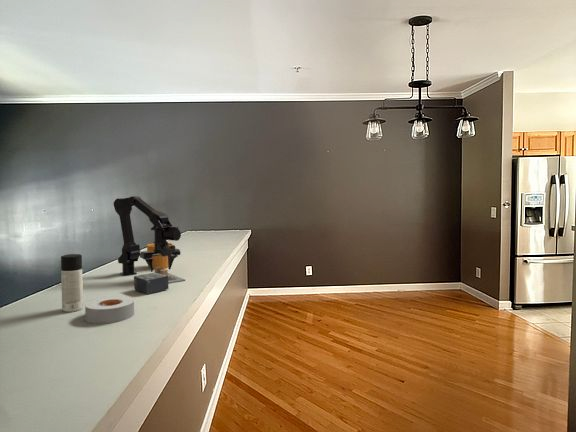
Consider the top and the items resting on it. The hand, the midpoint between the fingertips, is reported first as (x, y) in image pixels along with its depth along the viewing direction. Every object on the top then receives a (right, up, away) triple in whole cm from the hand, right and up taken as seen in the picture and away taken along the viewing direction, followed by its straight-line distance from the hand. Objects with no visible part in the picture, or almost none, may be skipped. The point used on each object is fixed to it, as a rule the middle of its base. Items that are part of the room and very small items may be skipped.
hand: (160, 270), depth 184 cm
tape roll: (+2, -8, -56) cm, 56 cm away
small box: (-1, -2, -19) cm, 19 cm away
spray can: (-15, -7, -49) cm, 52 cm away
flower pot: (-9, -2, +26) cm, 28 cm away
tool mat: (+1, -4, -1) cm, 4 cm away
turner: (+2, -3, -2) cm, 4 cm away
